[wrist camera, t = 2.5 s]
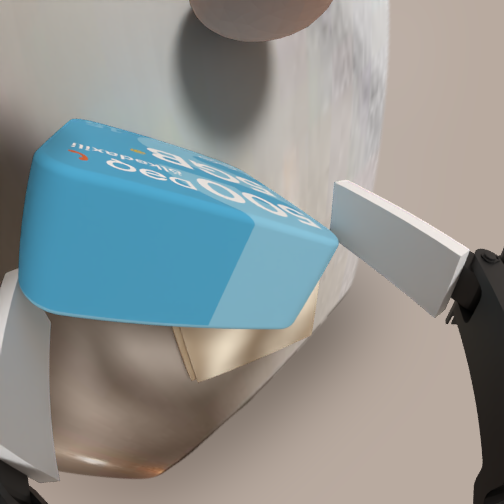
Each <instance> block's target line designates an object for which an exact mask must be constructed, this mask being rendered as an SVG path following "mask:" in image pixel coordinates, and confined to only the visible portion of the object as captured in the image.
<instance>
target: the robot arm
mask: <svg viewBox="0 0 504 504" xmlns="http://www.w3.org/2000/svg"><path fill="white" fill-rule="evenodd" d="M330 231H331V232H332V233H333V234H334V235H335V236H336V237H337V238H338V241H339V243H340V244H342V245H343V246H344V247H346V248H347V249H348V250H350V251H351V252H352V253H354V254H355V255H356V256H358V257H359V258H360V259H362V260H363V261H364V262H366V263H367V264H368V265H370V266H371V267H372V268H374V269H375V270H376V271H377V272H379V273H380V274H381V275H382V276H384V277H385V278H386V279H387V280H389V281H390V282H391V283H393V284H394V285H395V286H396V287H398V288H399V289H400V290H401V291H403V292H404V293H405V294H406V295H407V296H409V297H410V298H411V299H412V300H414V301H415V302H416V303H417V304H418V305H420V306H421V307H422V308H423V309H424V310H426V311H427V312H428V313H429V314H430V315H432V316H433V317H434V318H436V317H437V316H438V315H439V314H440V313H442V312H443V311H444V310H445V309H446V306H447V304H448V302H449V300H450V298H452V299H454V300H455V302H454V304H453V306H452V308H451V310H450V312H449V314H448V316H447V318H446V324H448V323H449V321H450V319H451V317H452V316H454V318H453V320H452V323H451V324H457V325H458V328H459V332H460V335H461V339H462V343H463V346H464V350H465V354H466V358H467V362H468V366H469V370H470V375H471V380H472V385H473V390H474V395H475V401H476V407H477V413H478V420H479V428H480V436H481V446H482V459H483V464H482V469H481V471H480V473H479V474H478V476H477V478H476V481H475V483H474V497H473V504H504V248H503V251H502V253H501V255H500V256H497V255H495V254H494V253H493V252H491V251H488V250H485V249H478V250H476V252H475V254H474V253H472V252H470V250H469V249H468V248H466V247H465V246H463V245H462V244H460V243H458V242H457V241H456V240H454V239H452V238H451V237H449V236H448V235H446V234H445V233H443V232H441V231H440V230H438V229H436V228H435V227H433V226H431V225H430V224H428V223H426V222H425V221H423V220H421V219H419V218H418V217H416V216H414V215H412V214H411V213H409V212H407V211H405V210H404V209H402V208H400V207H398V206H397V205H395V204H393V203H391V202H389V201H387V200H386V199H383V198H382V197H380V196H378V195H376V194H374V193H372V192H370V191H368V190H366V189H365V188H363V187H361V186H359V185H357V184H355V183H353V182H351V181H348V180H342V181H337V182H334V192H333V204H332V214H331V224H330ZM18 269H19V268H18ZM18 269H15V270H12V271H9V272H7V273H5V276H4V279H3V282H2V285H1V287H0V504H48V503H47V502H46V501H45V500H44V499H43V498H42V497H41V496H40V495H39V494H38V493H37V491H36V490H34V489H33V488H32V487H31V486H29V484H28V477H30V478H31V479H33V480H35V481H37V482H39V483H44V482H55V481H60V479H59V473H58V467H57V461H56V455H55V448H54V440H53V431H52V421H51V407H50V383H49V356H50V331H51V322H50V320H49V318H48V317H47V315H46V313H45V312H44V310H42V309H40V308H38V307H37V306H35V305H34V304H32V303H31V302H30V301H29V300H28V299H27V298H26V296H25V295H24V294H23V292H22V290H21V288H20V285H19V281H18ZM27 476H28V477H27Z"/></svg>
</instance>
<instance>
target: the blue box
mask: <svg viewBox="0 0 504 504" xmlns="http://www.w3.org/2000/svg"><path fill="white" fill-rule="evenodd" d="M338 244H339V241H338V238H337V237H336V236H335V235H334V234H333V233H332V232H331V231H330V230H329V229H327V228H326V227H324V226H323V225H322V224H320V223H319V222H317V221H316V220H315V219H313V218H312V217H310V216H309V215H307V214H306V213H305V212H303V211H302V210H300V209H299V208H297V207H296V206H294V205H293V204H291V203H290V202H288V201H287V200H286V199H284V198H283V197H281V196H280V195H278V194H277V193H275V192H274V191H272V190H271V189H269V188H268V187H266V186H265V185H263V184H261V183H260V182H258V181H257V180H255V179H254V178H252V177H251V176H249V175H248V174H246V173H245V172H243V171H241V170H239V169H237V168H235V167H233V166H231V165H229V164H226V163H224V162H221V161H218V160H216V159H213V158H210V157H207V156H204V155H201V154H198V153H195V152H193V151H190V150H187V149H184V148H181V147H177V146H174V145H171V144H168V143H165V142H162V141H159V140H156V139H152V138H149V137H146V136H142V135H139V134H136V133H132V132H129V131H125V130H122V129H118V128H115V127H111V126H108V125H104V124H100V123H96V122H92V121H88V120H82V119H72V120H70V121H69V122H67V123H66V124H65V125H64V126H63V127H62V128H60V129H59V130H58V131H57V132H56V133H55V134H54V135H53V136H51V137H50V138H49V139H48V140H47V141H46V142H45V143H44V144H43V145H42V146H41V147H40V148H39V149H38V150H37V151H36V152H35V154H34V156H33V160H32V165H31V169H30V174H29V179H28V185H27V191H26V197H25V203H24V210H23V218H22V226H21V237H20V249H19V269H18V281H19V285H20V288H21V290H22V292H23V294H24V295H25V296H26V298H27V299H28V300H29V301H30V302H31V303H32V304H34V305H35V306H37V307H38V308H40V309H42V310H44V311H47V312H49V313H53V314H57V315H62V316H70V317H77V318H85V319H94V320H103V321H112V322H122V323H133V324H145V325H158V326H174V327H192V328H216V329H284V328H287V327H289V326H291V325H292V324H293V323H294V321H295V320H296V318H297V316H298V315H299V313H300V311H301V310H302V308H303V306H304V305H305V303H306V301H307V300H308V298H309V296H310V295H311V293H312V291H313V290H314V288H315V286H316V284H317V283H318V281H319V279H320V277H321V276H322V274H323V272H324V270H325V269H326V267H327V265H328V263H329V262H330V260H331V258H332V256H333V254H334V253H335V251H336V249H337V247H338Z"/></svg>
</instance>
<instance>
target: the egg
mask: <svg viewBox="0 0 504 504" xmlns="http://www.w3.org/2000/svg"><path fill="white" fill-rule="evenodd" d="M189 1H190V5H191V7H192V9H193V11H194V13H195V15H196V17H197V18H198V19H199V20H200V21H201V22H202V23H203V24H204V25H205V26H206V27H207V28H209V29H210V30H211V31H213V32H215V33H217V34H219V35H221V36H223V37H226V38H230V39H234V40H238V41H245V42H261V41H270V40H274V39H279V38H283V37H286V36H289V35H292V34H294V33H296V32H298V31H300V30H302V29H304V28H306V27H308V26H309V25H310V24H312V23H313V22H314V21H315V20H316V19H317V18H318V17H320V16H321V15H322V14H323V13H324V12H325V11H326V9H327V8H328V7H329V5H330V4H331V2H332V0H189Z"/></svg>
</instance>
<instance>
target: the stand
mask: <svg viewBox="0 0 504 504" xmlns="http://www.w3.org/2000/svg"><path fill="white" fill-rule="evenodd" d="M319 281H320V279H319ZM319 281H318V283H317V284H316V286H315V288H314V290H313V291H312V293H311V295H310V296H309V298H308V300H307V301H306V303H305V305H304V306H303V308H302V310H301V311H300V313H299V315H298V316H297V318H296V320H295V321H294V323H293V324H292V325H291V326H289V327H287V328H284V329H216V328H192V327H174V326H171V327H172V330H173V333H174V336H175V339H176V342H177V345H178V348H179V351H180V353H181V356H182V359H183V362H184V365H185V367H186V369H187V372H188V374H189V376H190V379H191V381H193V380H196V379H197V382H198V383H199V382H202V381H204V380H207V379H210V378H212V377H215V376H218V375H220V374H223V373H225V372H228V371H230V370H233V369H235V368H238V367H240V366H243V365H245V364H248V363H250V362H252V361H255V360H257V359H259V358H262V357H264V356H266V355H269V354H271V353H273V352H276V351H278V350H280V349H282V348H284V347H287V346H289V345H291V344H293V343H295V342H297V341H300V340H302V339H304V338H306V337H308V336H310V335H311V334H312V328H313V322H314V316H315V309H316V302H317V295H318V288H319Z"/></svg>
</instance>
